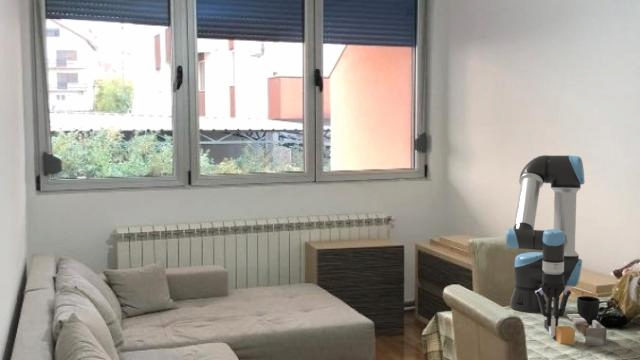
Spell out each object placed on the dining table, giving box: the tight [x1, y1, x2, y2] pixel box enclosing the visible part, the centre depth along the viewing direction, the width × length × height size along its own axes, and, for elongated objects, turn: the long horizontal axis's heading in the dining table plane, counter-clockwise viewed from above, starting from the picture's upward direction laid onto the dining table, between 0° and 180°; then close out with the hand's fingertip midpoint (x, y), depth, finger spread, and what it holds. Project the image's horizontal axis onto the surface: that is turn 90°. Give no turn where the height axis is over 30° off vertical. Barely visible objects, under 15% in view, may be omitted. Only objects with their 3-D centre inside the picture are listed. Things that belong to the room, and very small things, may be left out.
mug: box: [576, 295, 611, 325], centre depth 275 cm, size 8×12×10 cm
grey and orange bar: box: [543, 319, 576, 345], centre depth 261 cm, size 19×5×5 cm, turn 0°
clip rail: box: [566, 313, 608, 346], centre depth 260 cm, size 22×7×6 cm, turn 179°
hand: (552, 334), depth 259 cm, fingers closed
